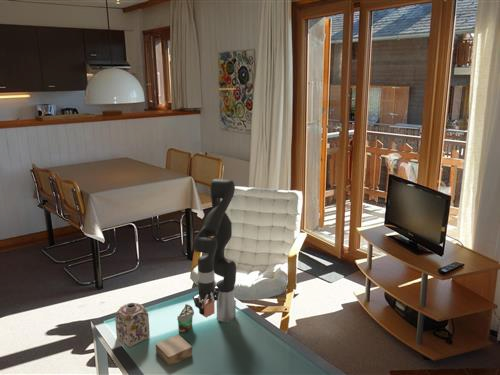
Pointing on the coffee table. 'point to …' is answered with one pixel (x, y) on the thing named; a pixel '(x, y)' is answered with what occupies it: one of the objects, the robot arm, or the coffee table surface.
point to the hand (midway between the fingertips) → (206, 311)
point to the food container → (185, 319)
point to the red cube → (208, 308)
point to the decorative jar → (132, 324)
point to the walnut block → (173, 350)
